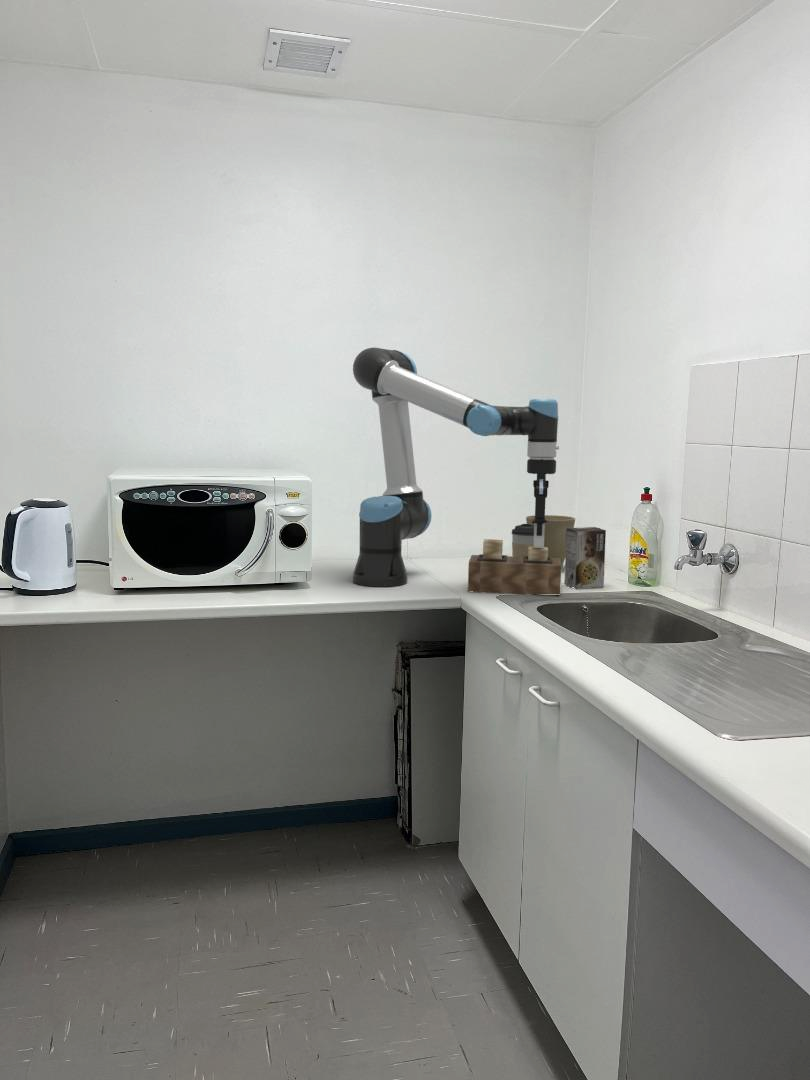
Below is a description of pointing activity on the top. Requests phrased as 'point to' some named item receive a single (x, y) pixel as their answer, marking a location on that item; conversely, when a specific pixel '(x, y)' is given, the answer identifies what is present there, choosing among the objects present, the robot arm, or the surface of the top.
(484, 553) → the dowel
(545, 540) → the plant pot
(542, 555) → the dowel
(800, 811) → the top surface
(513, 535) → the coffee cup
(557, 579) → the walnut block
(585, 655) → the top surface
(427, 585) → the top surface
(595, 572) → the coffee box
